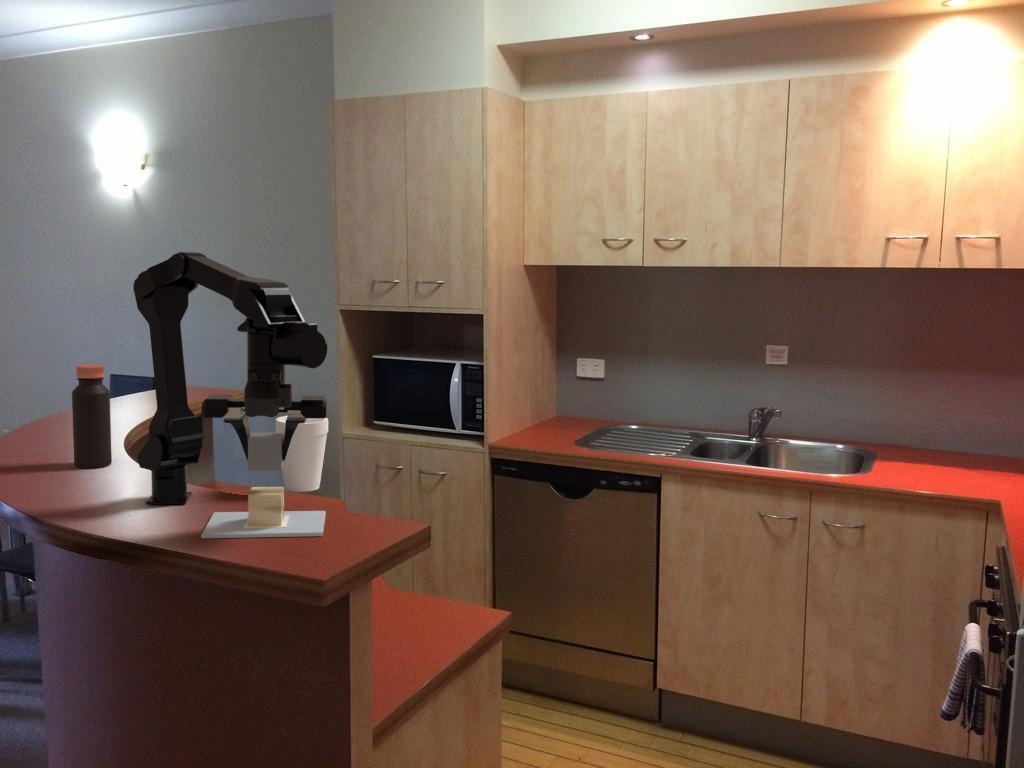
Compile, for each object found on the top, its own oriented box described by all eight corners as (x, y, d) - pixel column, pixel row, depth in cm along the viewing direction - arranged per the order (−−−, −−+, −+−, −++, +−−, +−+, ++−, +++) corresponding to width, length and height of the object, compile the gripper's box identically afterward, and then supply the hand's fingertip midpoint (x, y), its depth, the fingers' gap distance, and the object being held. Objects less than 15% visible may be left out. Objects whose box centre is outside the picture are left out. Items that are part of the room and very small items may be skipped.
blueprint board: (214, 515, 146) (214, 511, 146) (325, 514, 149) (325, 510, 149) (201, 538, 134) (201, 533, 134) (322, 536, 137) (322, 531, 137)
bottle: (97, 470, 173) (94, 368, 170) (66, 467, 174) (63, 366, 172) (118, 462, 180) (116, 365, 177) (89, 460, 181) (86, 363, 178)
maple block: (252, 517, 143) (252, 487, 143) (283, 516, 144) (283, 486, 144) (248, 526, 139) (248, 495, 138) (281, 525, 139) (281, 494, 139)
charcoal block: (251, 463, 142) (251, 432, 141) (283, 463, 143) (283, 432, 142) (248, 470, 137) (247, 438, 137) (281, 470, 138) (281, 439, 137)
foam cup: (337, 488, 166) (338, 420, 164) (295, 496, 159) (296, 425, 157) (307, 478, 172) (308, 413, 170) (266, 486, 165) (266, 418, 163)
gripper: (194, 367, 128) (195, 472, 131) (325, 369, 132) (324, 472, 134) (207, 359, 139) (208, 455, 141) (327, 361, 143) (327, 455, 145)
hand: (266, 460), depth 140 cm, fingers closed on charcoal block, 5 cm apart
